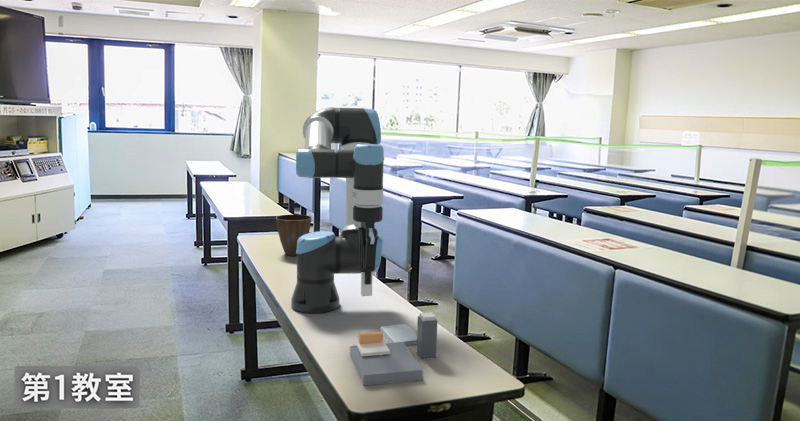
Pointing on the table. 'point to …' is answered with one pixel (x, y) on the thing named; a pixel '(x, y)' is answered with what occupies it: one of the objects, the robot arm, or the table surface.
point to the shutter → (372, 344)
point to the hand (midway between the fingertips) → (366, 295)
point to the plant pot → (292, 231)
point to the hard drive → (400, 334)
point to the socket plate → (387, 365)
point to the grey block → (426, 336)
